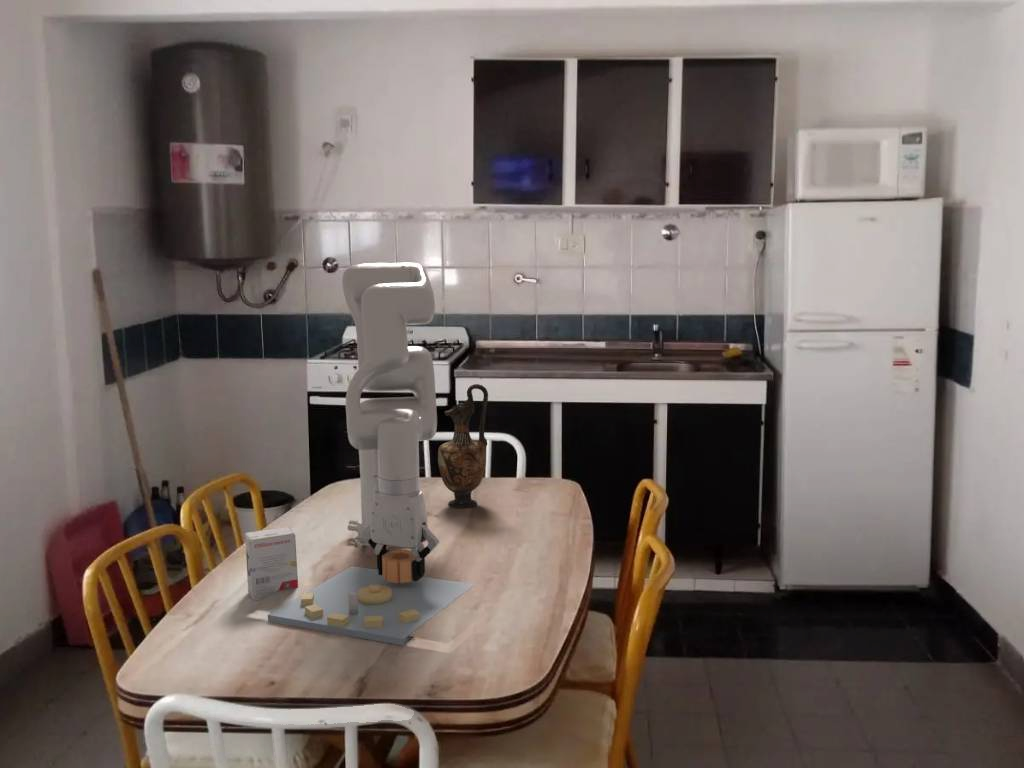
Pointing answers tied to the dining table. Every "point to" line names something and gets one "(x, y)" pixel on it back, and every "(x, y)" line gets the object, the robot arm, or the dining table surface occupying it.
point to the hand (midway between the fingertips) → (401, 575)
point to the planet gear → (397, 566)
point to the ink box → (271, 561)
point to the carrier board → (369, 605)
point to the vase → (464, 452)
